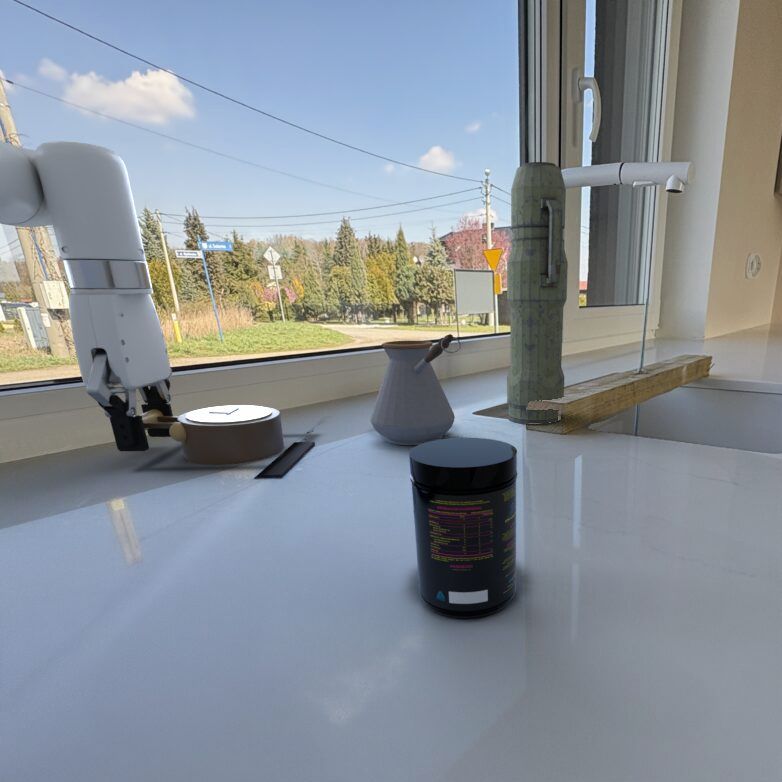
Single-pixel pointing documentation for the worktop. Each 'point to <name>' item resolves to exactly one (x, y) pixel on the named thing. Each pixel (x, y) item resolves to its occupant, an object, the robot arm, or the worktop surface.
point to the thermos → (536, 291)
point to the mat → (286, 460)
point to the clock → (223, 433)
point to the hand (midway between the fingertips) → (148, 441)
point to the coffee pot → (412, 394)
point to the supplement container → (465, 524)
